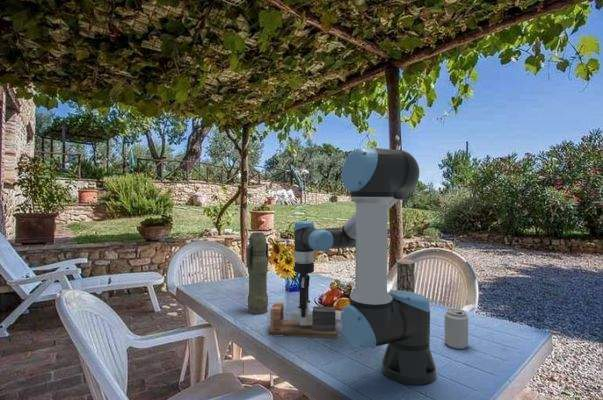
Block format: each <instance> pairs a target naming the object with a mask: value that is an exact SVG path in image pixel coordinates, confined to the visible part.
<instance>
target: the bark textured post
mask: <svg viewBox="0 0 603 400" xmlns="http://www.w3.org/2000/svg"><path fill="white" fill-rule="evenodd" d="M396 263H397V264H396V290H400V291H408V292H413V293H415V271H416V269H415V267H416V266H415V263H416V261H415V260H412V259H405V258H403V259H397V262H396Z"/></svg>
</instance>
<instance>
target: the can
mask: <svg viewBox="0 0 603 400" xmlns="http://www.w3.org/2000/svg"><path fill="white" fill-rule="evenodd" d="M444 343H445V344H446V345H447V346H448V347H449V348H451V349H454V350H455V349H456V350H464V349H465V348H467V347H468V346H469V316H468V315H467V312H466V311H465V310H464V309H459V308H448V309H446V312H445V313H444Z"/></svg>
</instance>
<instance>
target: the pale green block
mask: <svg viewBox="0 0 603 400" xmlns="http://www.w3.org/2000/svg"><path fill="white" fill-rule="evenodd" d="M312 311H313V310H311V311H309V303H308V300H307V323H308V322H312ZM291 321H299V322H300V310H291Z"/></svg>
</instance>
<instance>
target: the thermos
mask: <svg viewBox="0 0 603 400" xmlns="http://www.w3.org/2000/svg"><path fill="white" fill-rule="evenodd" d="M249 235H250V236H249V240H248V244H247V246H246V248H245V256H246V257H245V258H246V259H245V266H246V268H247V274H248V295H247V309H248V310H247V312H248V314H251V315H253V316H254V315H255V316H256V315H259V316H260V315H264V314H267V313H268V311H269V310H268V309H269V308H268V307H269V296H268V295H269V294H268V291H267V290H268V285H267V283H268V282H267V280H268V279H267V278H268V276H267V275H268V271H269V266H268V265H269V258H270V257H269V255H270V254H269V253H270V252H269V250H270V249H269V248H270V247H269V244H268V242H267V238H266V234H265V233H263V232H252V233H250V234H249Z"/></svg>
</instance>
